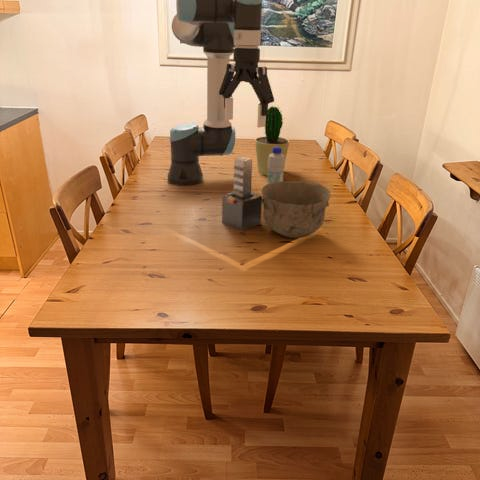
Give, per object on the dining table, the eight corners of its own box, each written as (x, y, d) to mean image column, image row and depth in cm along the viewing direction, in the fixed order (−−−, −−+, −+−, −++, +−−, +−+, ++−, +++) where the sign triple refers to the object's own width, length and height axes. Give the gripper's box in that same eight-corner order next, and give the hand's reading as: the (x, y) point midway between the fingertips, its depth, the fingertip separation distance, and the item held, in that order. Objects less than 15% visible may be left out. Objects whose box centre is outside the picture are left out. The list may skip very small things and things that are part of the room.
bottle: (281, 200, 174) (285, 149, 165) (264, 199, 175) (267, 148, 166) (283, 194, 180) (287, 145, 171) (267, 193, 181) (269, 144, 172)
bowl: (281, 255, 133) (285, 208, 127) (246, 227, 150) (248, 184, 144) (340, 241, 143) (346, 197, 136) (301, 217, 160) (305, 176, 153)
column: (231, 223, 150) (232, 158, 141) (241, 219, 153) (243, 156, 144) (241, 227, 148) (242, 161, 138) (250, 223, 151) (253, 159, 141)
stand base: (211, 225, 151) (211, 194, 146) (240, 214, 160) (241, 185, 155) (241, 239, 142) (242, 206, 137) (270, 226, 151) (272, 196, 147)
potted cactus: (294, 174, 205) (299, 106, 192) (267, 179, 197) (271, 109, 184) (273, 165, 216) (277, 101, 203) (247, 170, 208) (249, 103, 195)
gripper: (207, 44, 132) (207, 118, 141) (271, 49, 117) (267, 131, 126) (225, 44, 137) (224, 115, 146) (289, 49, 122) (284, 128, 131)
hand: (244, 123), depth 136 cm, fingers open, 13 cm apart
